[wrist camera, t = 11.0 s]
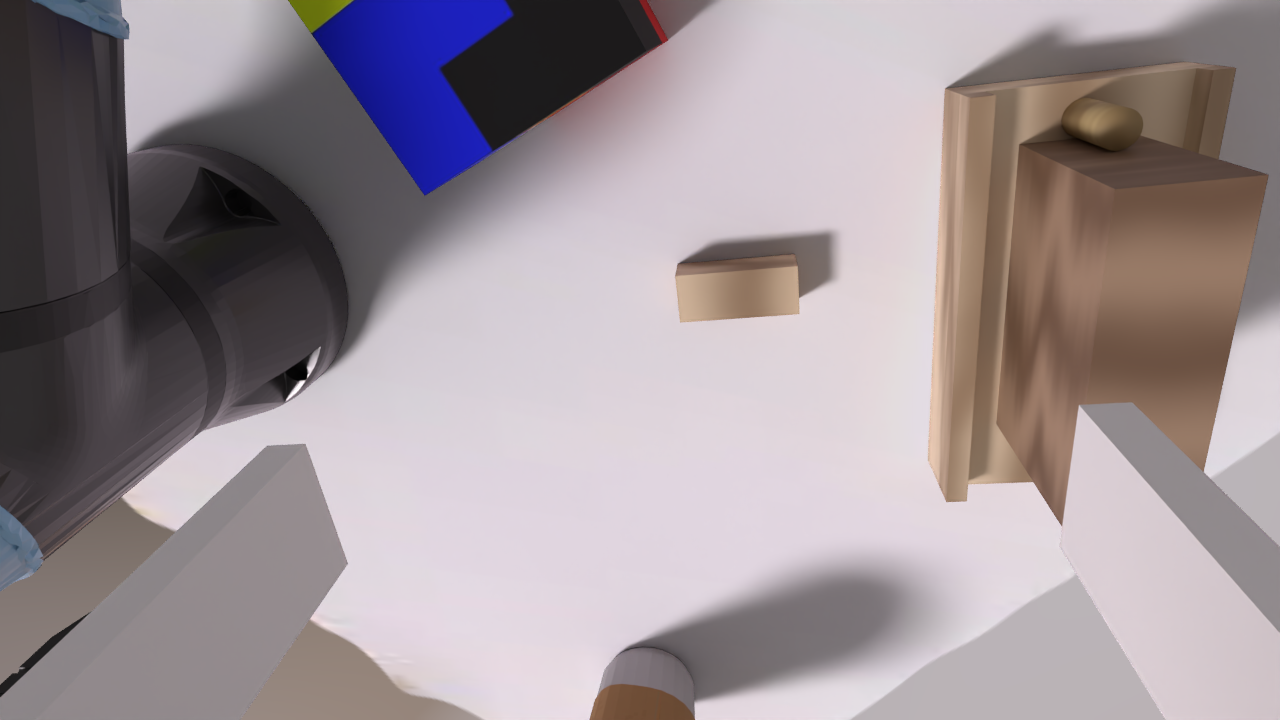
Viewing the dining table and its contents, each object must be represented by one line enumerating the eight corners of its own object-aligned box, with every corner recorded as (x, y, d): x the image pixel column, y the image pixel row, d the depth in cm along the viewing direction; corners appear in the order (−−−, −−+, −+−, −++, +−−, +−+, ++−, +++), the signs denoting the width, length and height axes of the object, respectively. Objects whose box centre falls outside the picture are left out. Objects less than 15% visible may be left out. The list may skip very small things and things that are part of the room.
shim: (682, 308, 40) (680, 322, 38) (677, 263, 39) (675, 276, 37) (796, 299, 39) (799, 314, 37) (794, 254, 38) (797, 266, 36)
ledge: (927, 459, 42) (956, 525, 37) (944, 88, 34) (985, 103, 29) (1118, 452, 41) (1178, 519, 35) (1184, 61, 33) (1274, 72, 27)
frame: (1092, 419, 38) (1191, 532, 29) (996, 423, 38) (1067, 535, 30) (1132, 132, 32) (1270, 174, 24) (1018, 144, 32) (1114, 189, 24)
